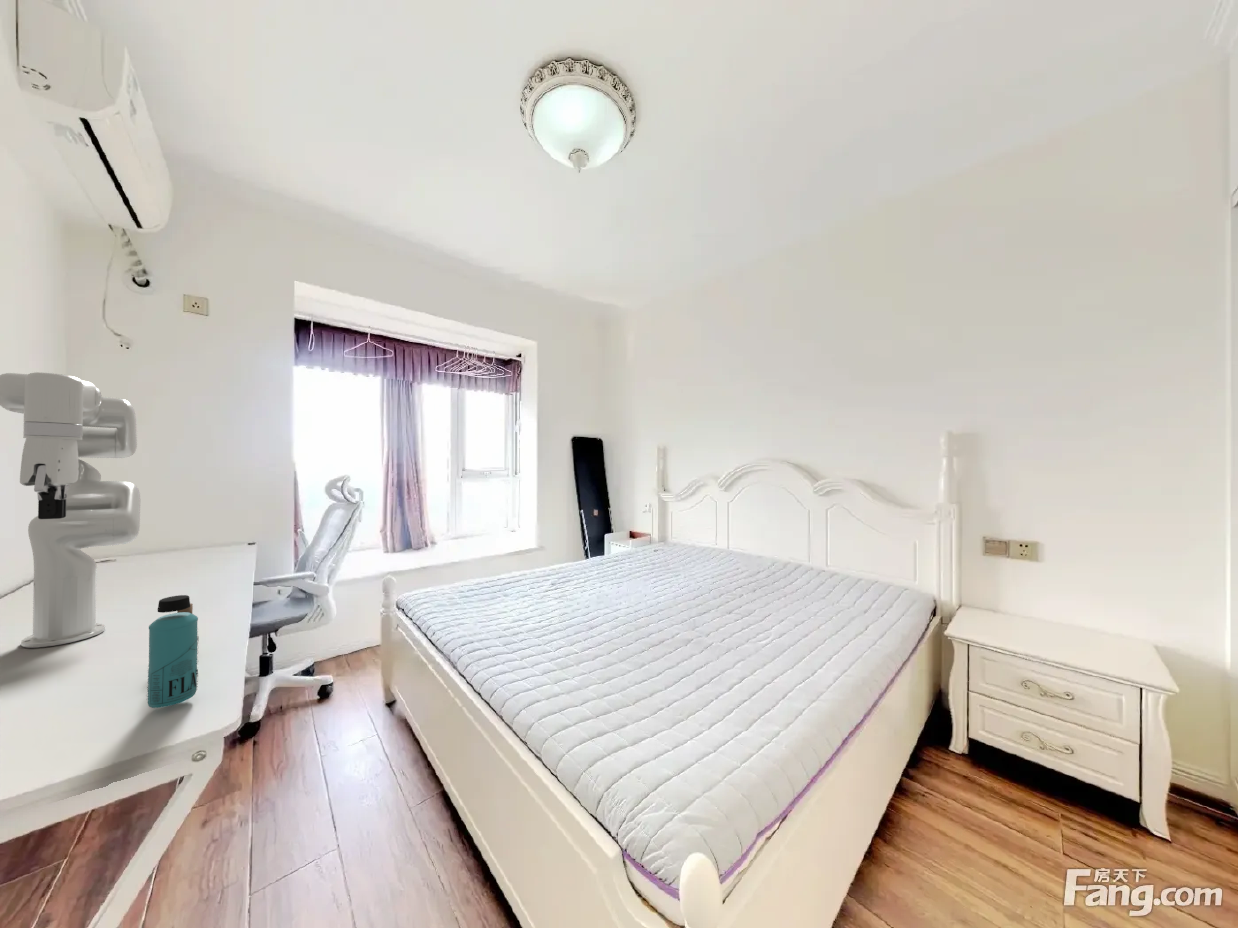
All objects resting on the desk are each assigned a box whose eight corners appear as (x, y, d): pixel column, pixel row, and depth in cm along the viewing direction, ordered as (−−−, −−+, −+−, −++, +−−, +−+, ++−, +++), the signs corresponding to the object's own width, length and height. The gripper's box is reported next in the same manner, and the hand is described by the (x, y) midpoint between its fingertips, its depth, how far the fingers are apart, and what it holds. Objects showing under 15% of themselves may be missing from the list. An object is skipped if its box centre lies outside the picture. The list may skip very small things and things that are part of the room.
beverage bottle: (163, 719, 73) (166, 604, 73) (135, 714, 74) (137, 601, 74) (207, 699, 79) (209, 593, 79) (180, 694, 81) (182, 590, 81)
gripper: (45, 433, 94) (43, 515, 94) (2, 429, 81) (0, 524, 81) (96, 434, 98) (95, 513, 98) (63, 431, 86) (61, 521, 86)
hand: (52, 518), depth 90 cm, fingers closed
